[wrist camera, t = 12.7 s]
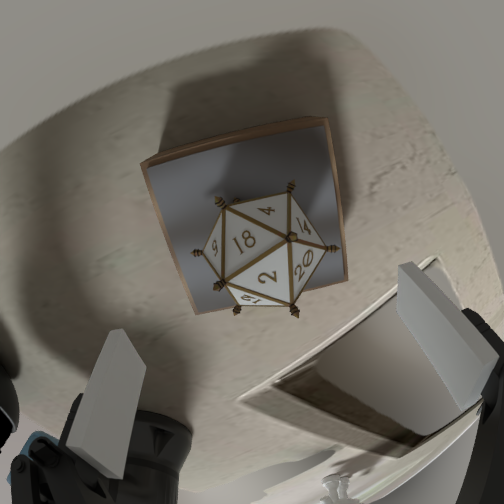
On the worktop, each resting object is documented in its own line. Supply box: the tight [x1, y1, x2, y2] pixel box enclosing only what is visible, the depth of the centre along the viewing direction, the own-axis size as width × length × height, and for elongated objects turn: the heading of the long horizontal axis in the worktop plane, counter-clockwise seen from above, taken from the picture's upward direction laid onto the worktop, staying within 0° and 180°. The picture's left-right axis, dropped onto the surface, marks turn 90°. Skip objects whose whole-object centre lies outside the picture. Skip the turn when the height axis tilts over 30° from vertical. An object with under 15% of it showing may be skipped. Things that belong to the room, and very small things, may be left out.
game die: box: [190, 179, 341, 318], centre depth 19 cm, size 9×8×10 cm
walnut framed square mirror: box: [140, 116, 348, 315], centre depth 25 cm, size 14×14×6 cm
